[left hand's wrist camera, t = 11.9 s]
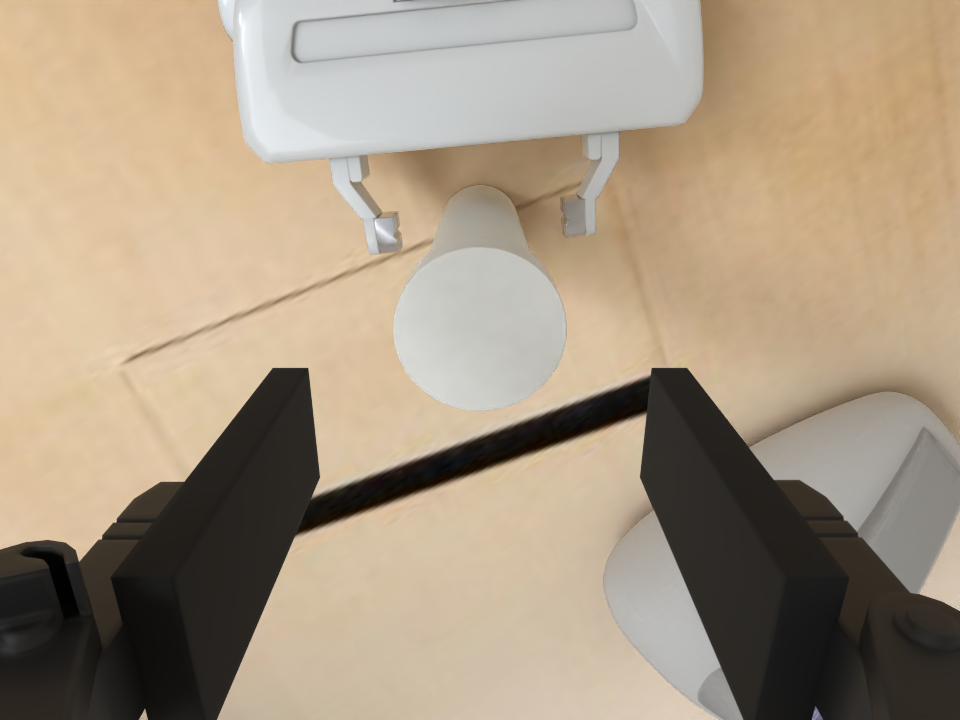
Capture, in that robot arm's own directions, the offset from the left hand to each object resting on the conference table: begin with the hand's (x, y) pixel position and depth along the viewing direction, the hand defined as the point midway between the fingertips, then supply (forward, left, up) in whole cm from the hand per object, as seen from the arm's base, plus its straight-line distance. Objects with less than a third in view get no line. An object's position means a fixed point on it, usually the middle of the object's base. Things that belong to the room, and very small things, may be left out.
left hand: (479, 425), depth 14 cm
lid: (0, 0, -6) cm, 6 cm away
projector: (-14, -24, -25) cm, 38 cm away
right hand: (0, 0, -19) cm, 19 cm away
